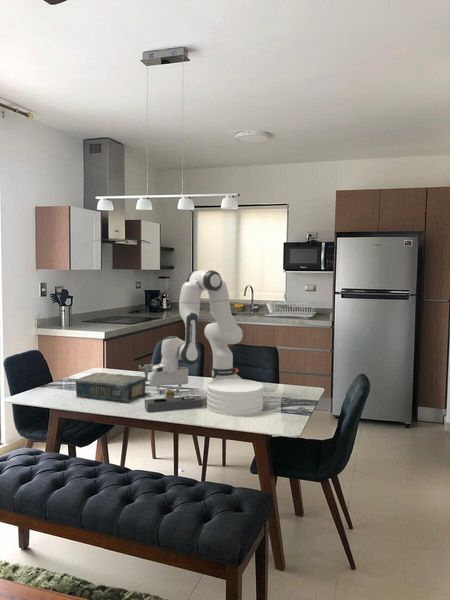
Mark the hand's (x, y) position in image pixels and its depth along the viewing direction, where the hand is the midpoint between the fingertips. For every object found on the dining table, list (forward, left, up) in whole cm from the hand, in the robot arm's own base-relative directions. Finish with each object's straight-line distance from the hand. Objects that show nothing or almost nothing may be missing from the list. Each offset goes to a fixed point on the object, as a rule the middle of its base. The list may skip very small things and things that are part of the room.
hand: (168, 393), depth 256 cm
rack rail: (0, +14, -4) cm, 15 cm away
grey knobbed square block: (-7, +14, -4) cm, 16 cm away
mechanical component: (+3, -48, -4) cm, 48 cm away
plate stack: (-29, +22, -4) cm, 37 cm away
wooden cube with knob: (-1, -1, -4) cm, 4 cm away
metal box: (+28, -18, -4) cm, 34 cm away
